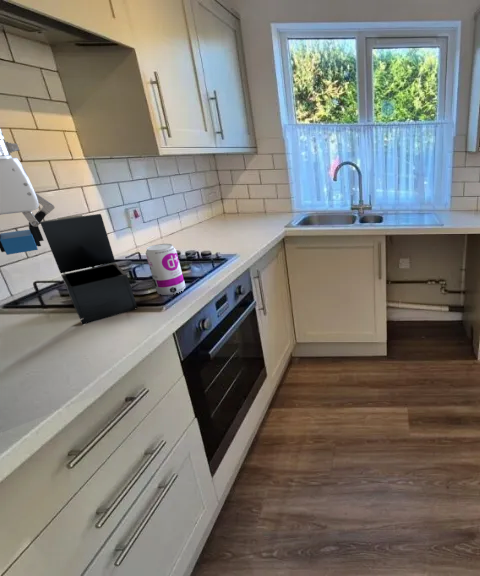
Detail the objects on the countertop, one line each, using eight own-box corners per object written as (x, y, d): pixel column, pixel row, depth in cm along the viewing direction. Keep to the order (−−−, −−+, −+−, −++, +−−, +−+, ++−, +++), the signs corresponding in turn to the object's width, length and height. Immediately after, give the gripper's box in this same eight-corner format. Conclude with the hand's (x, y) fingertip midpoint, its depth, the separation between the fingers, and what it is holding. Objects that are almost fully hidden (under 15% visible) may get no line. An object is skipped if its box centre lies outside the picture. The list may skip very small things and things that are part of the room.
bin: (138, 308, 106) (126, 274, 101) (82, 324, 97) (67, 288, 93) (126, 294, 115) (115, 262, 111) (74, 308, 107) (60, 274, 102)
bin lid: (101, 214, 102) (96, 208, 105) (40, 222, 94) (37, 215, 97) (115, 262, 110) (110, 255, 114) (60, 273, 102) (57, 265, 105)
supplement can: (191, 288, 119) (180, 244, 113) (168, 298, 112) (155, 252, 106) (175, 284, 122) (163, 242, 116) (151, 294, 115) (138, 249, 109)
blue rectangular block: (38, 249, 72) (31, 235, 71) (6, 254, 69) (-1, 239, 68) (35, 243, 76) (30, 229, 75) (6, 247, 74) (0, 233, 72)
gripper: (40, 149, 73) (72, 236, 80) (-88, 152, 63) (-39, 253, 70) (43, 149, 68) (77, 242, 75) (-97, 153, 58) (-42, 261, 65)
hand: (21, 246), depth 73 cm, fingers closed on blue rectangular block, 4 cm apart
